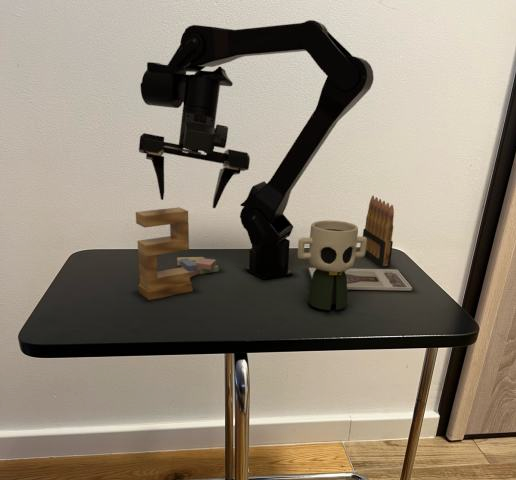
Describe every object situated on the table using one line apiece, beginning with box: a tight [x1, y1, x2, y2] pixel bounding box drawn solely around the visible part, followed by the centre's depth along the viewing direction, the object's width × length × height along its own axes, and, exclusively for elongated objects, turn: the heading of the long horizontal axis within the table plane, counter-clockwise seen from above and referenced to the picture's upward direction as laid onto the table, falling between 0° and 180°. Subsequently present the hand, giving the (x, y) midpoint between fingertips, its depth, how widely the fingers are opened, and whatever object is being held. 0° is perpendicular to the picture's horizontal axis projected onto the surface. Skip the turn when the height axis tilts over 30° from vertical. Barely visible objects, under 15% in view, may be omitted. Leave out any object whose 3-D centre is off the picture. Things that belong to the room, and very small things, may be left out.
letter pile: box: [176, 256, 220, 278], centre depth 100 cm, size 8×6×2 cm
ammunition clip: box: [362, 195, 395, 268], centre depth 108 cm, size 11×2×12 cm, turn 13°
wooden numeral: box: [135, 206, 194, 301], centre depth 87 cm, size 8×4×13 cm, turn 126°
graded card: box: [308, 267, 413, 292], centre depth 98 cm, size 10×1×17 cm
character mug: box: [297, 219, 367, 311], centre depth 84 cm, size 11×7×13 cm, turn 101°
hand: (188, 203), depth 96 cm, fingers open, 9 cm apart
